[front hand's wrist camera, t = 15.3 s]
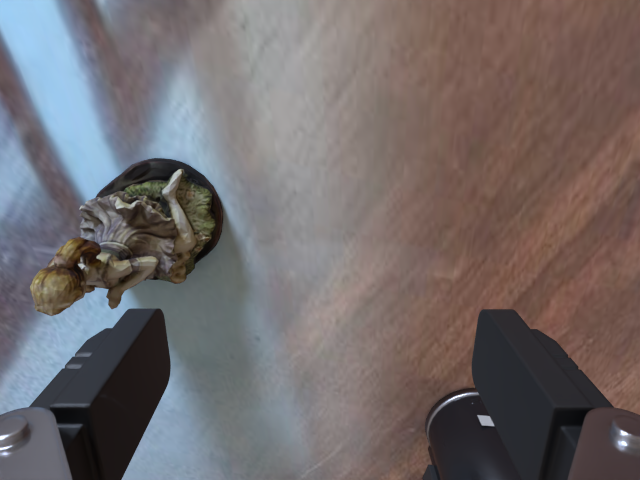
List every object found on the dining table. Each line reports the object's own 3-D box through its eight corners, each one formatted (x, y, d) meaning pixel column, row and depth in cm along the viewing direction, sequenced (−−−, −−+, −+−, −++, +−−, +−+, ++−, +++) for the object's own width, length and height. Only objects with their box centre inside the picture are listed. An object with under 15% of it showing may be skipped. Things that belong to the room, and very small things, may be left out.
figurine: (115, 287, 42) (11, 395, 28) (71, 174, 38) (-75, 233, 24) (238, 265, 41) (195, 365, 27) (205, 148, 37) (136, 193, 23)
